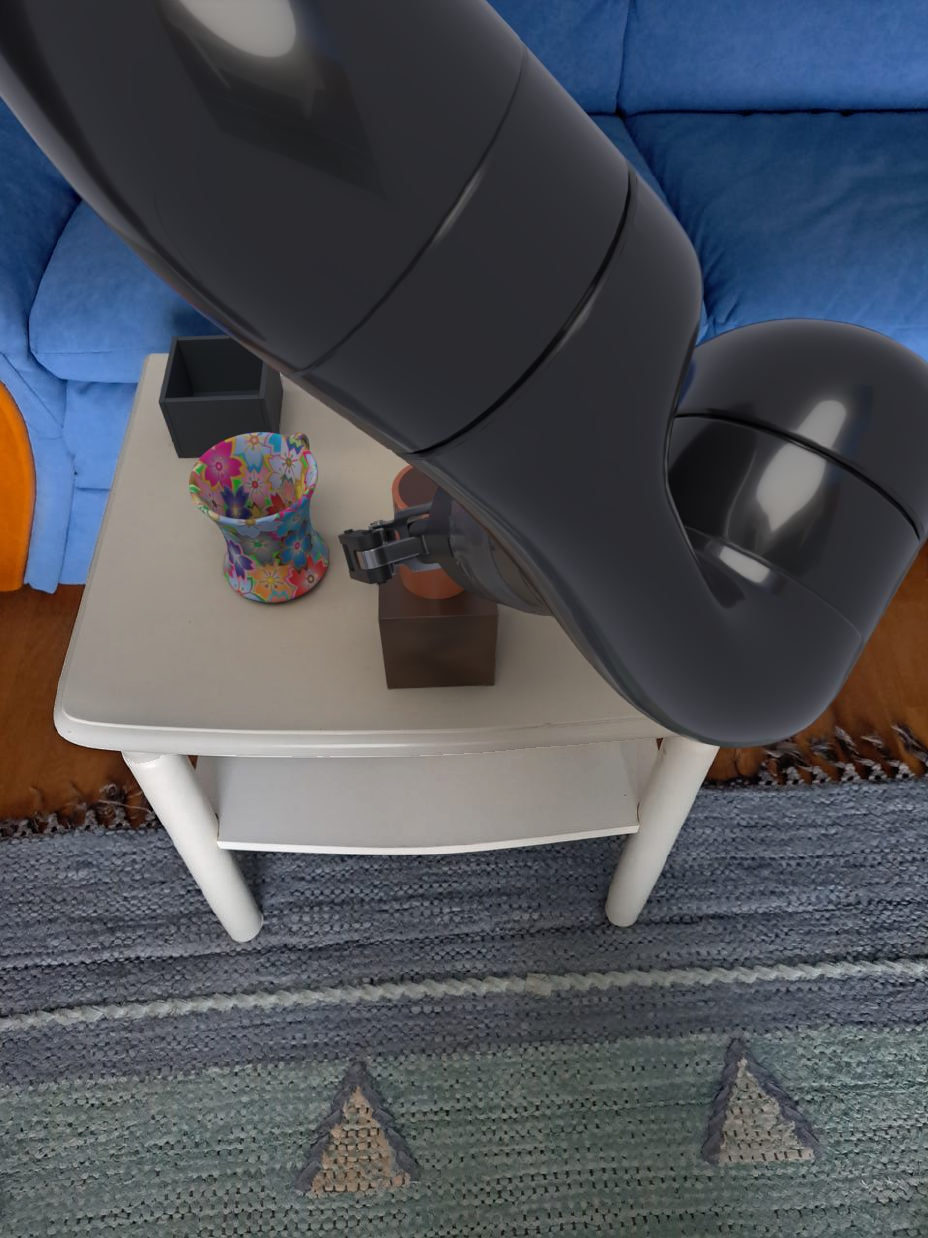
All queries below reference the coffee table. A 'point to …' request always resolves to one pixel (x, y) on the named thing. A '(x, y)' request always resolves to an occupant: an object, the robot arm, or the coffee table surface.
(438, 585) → the cup
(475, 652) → the wood grain cube
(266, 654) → the coffee table surface
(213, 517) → the mug
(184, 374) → the tub
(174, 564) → the coffee table surface
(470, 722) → the coffee table surface
